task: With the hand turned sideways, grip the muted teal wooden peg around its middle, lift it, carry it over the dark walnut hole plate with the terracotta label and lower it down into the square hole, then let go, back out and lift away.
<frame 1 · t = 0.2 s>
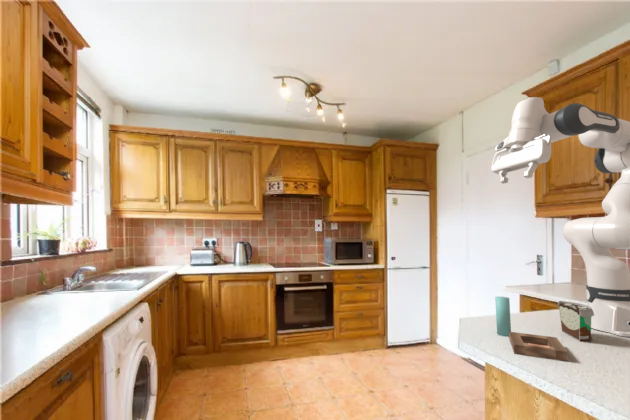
hand: (515, 180, 101), 51 cm above the table, tool tilted 20°, fingers open, 8 cm apart
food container: (581, 337, 98), on the table
teal peg: (504, 334, 101), on the table
hole plate: (536, 349, 88), on the table
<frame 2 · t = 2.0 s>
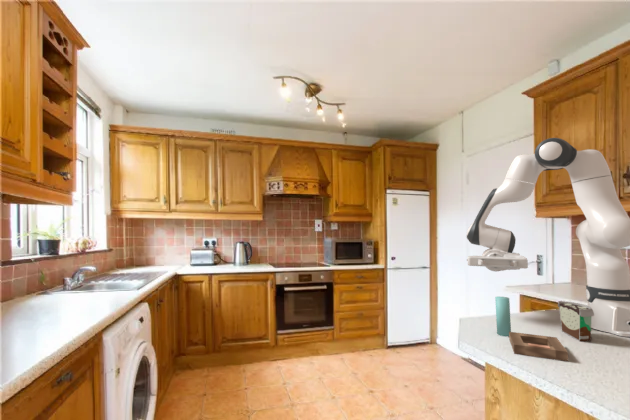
hand: (497, 263, 113), 22 cm above the table, tool horizontal, fingers open, 8 cm apart
nothing on the table moved.
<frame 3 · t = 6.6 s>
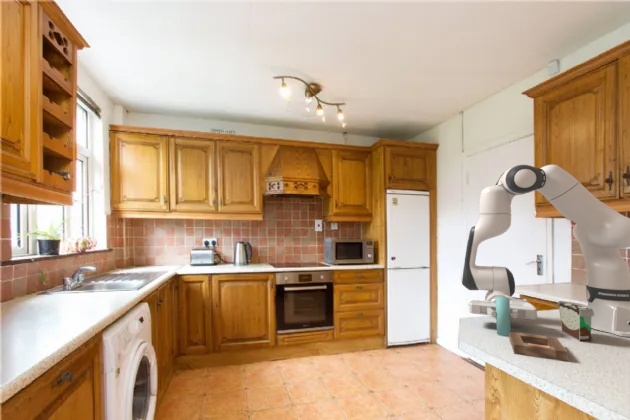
hand: (503, 315, 101), 7 cm above the table, tool horizontal, fingers closed on teal peg, 4 cm apart
teal peg: (504, 334, 101), on the table, touching gripper
everything else where it was.
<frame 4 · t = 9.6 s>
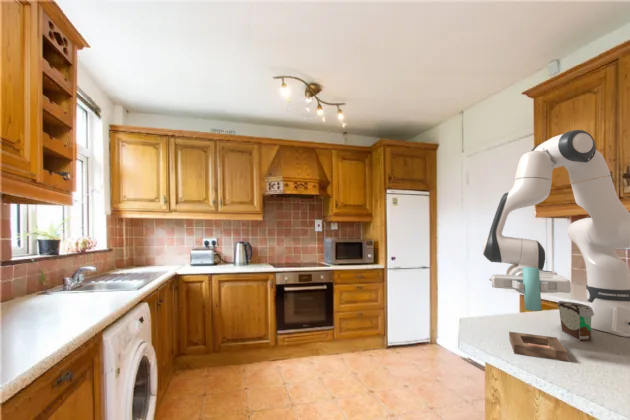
hand: (532, 287, 89), 18 cm above the table, tool horizontal, fingers closed on teal peg, 4 cm apart
teal peg: (533, 309, 89), point 11 cm above the table, touching gripper
everything else where it was.
when the fingers open (8 cm above the table, at t = 12.8 s): teal peg drops 1 cm, resting in hole plate.
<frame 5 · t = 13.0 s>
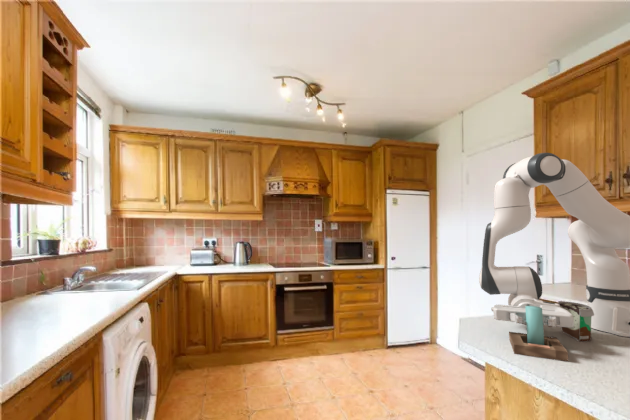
hand: (535, 322, 88), 8 cm above the table, tool horizontal, fingers open, 6 cm apart
teal peg: (536, 349, 88), resting in hole plate
everything else where it was.
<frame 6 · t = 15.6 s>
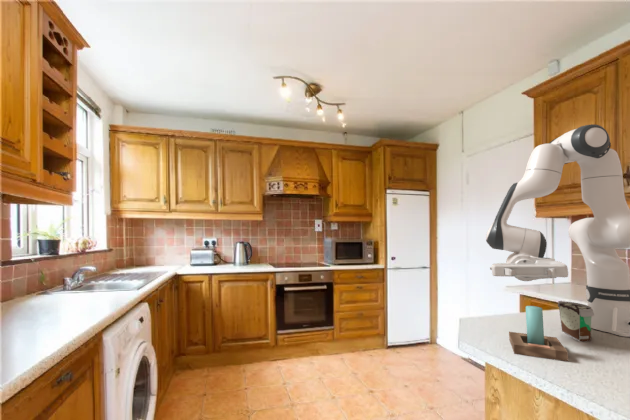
hand: (531, 273, 92), 21 cm above the table, tool horizontal, fingers open, 8 cm apart
nothing on the table moved.
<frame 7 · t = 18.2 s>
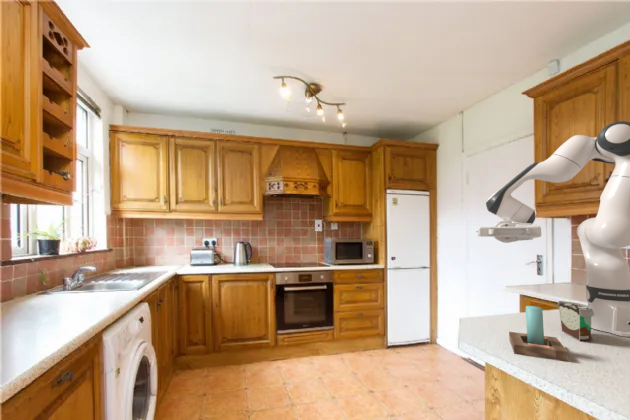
hand: (509, 231, 109), 34 cm above the table, tool horizontal, fingers open, 8 cm apart
nothing on the table moved.
at the end: teal peg 0.0 cm off-centre on the hole plate, point 0.0 cm above the hole plate's base; teal peg tilted 0°; the gripper is holding nothing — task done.
